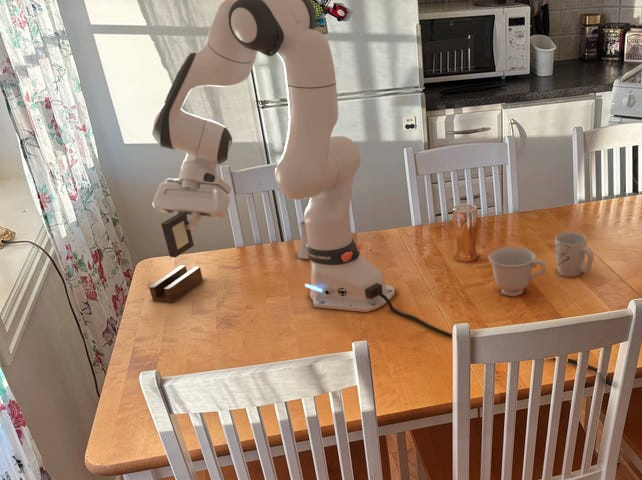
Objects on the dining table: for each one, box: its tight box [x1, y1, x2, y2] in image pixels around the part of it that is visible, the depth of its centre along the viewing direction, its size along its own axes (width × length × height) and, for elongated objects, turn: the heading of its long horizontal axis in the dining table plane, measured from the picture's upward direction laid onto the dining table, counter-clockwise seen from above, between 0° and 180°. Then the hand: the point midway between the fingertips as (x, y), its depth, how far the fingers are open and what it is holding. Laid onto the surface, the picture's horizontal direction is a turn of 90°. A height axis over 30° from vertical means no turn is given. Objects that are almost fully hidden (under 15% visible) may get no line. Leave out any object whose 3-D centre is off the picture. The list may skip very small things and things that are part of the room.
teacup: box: [488, 246, 547, 297], centre depth 187 cm, size 12×15×10 cm
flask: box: [297, 220, 310, 260], centre depth 211 cm, size 7×7×10 cm
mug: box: [554, 231, 594, 278], centre depth 195 cm, size 11×8×10 cm
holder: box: [149, 264, 204, 304], centre depth 195 cm, size 14×6×4 cm, turn 165°
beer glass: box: [452, 203, 479, 263], centre depth 205 cm, size 7×7×15 cm
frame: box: [160, 213, 195, 258], centre depth 186 cm, size 8×2×9 cm, turn 165°
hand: (183, 229), depth 188 cm, fingers closed on frame, 2 cm apart
